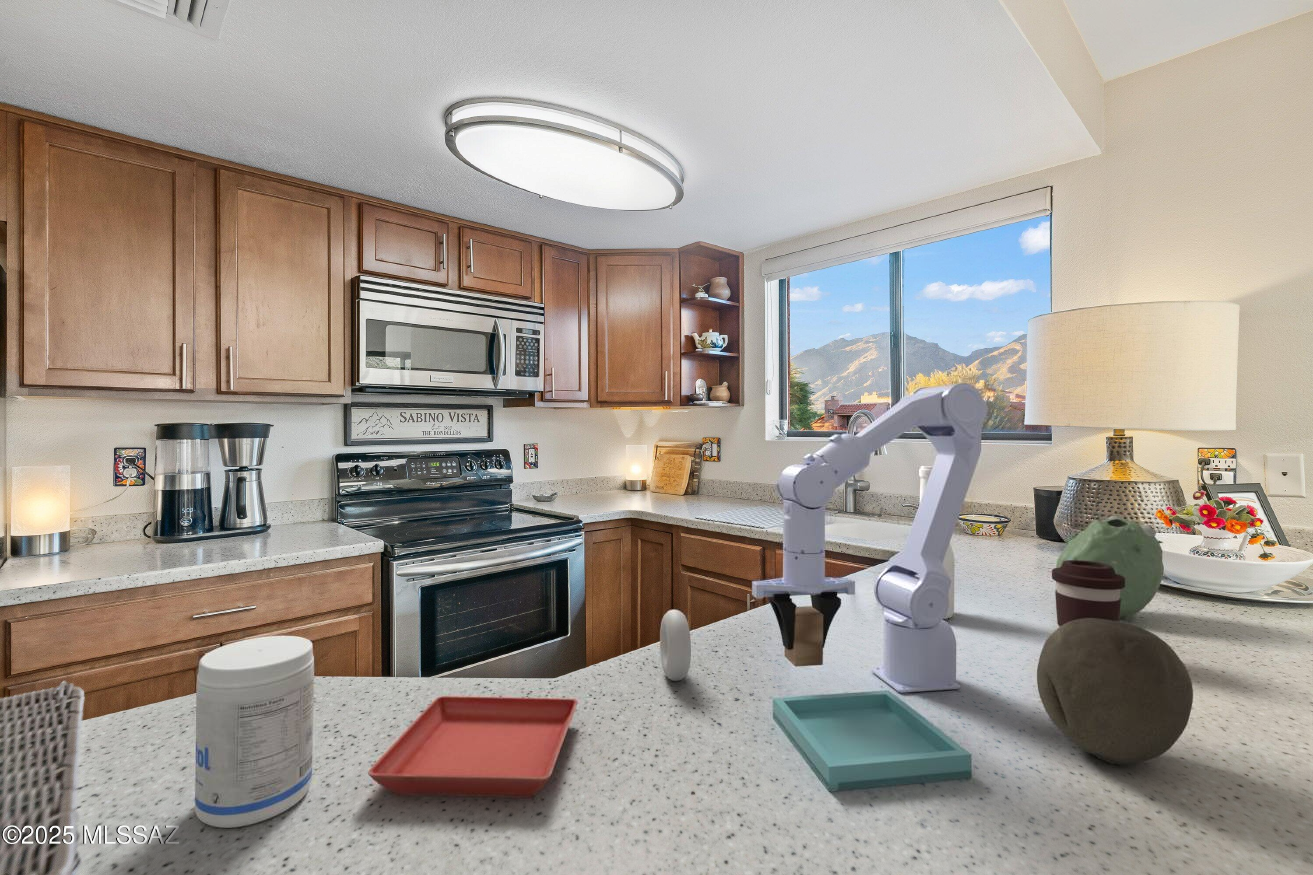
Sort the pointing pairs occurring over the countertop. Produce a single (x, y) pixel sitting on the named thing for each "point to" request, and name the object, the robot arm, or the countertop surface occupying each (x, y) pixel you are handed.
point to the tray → (869, 740)
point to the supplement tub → (253, 729)
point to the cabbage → (1122, 557)
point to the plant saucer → (477, 747)
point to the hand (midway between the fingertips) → (803, 646)
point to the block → (807, 638)
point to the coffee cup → (1087, 591)
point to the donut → (675, 645)
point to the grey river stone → (1114, 689)
